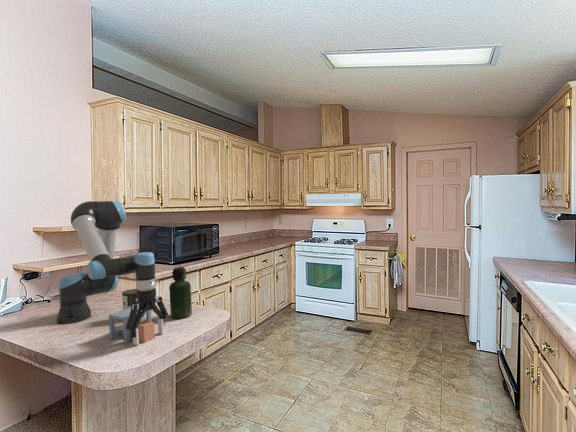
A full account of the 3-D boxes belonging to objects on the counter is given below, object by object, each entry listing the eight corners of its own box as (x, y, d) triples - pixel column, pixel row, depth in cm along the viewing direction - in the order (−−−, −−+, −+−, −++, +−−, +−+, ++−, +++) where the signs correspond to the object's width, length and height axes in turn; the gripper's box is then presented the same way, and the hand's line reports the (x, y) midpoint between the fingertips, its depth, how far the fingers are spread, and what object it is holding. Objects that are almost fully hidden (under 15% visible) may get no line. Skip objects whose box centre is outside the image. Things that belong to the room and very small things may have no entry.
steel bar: (113, 333, 148) (113, 327, 148) (121, 331, 151) (121, 324, 151) (138, 341, 139) (137, 334, 139) (145, 338, 142) (145, 331, 142)
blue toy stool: (110, 338, 142) (108, 314, 142) (136, 327, 153) (135, 306, 153) (126, 342, 137) (124, 318, 136) (152, 331, 148) (150, 308, 148)
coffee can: (149, 315, 172) (148, 288, 171) (136, 322, 162) (135, 294, 161) (132, 314, 174) (130, 288, 173) (118, 321, 164) (117, 293, 163)
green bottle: (169, 320, 162) (166, 270, 162) (172, 313, 173) (170, 267, 172) (191, 318, 165) (188, 269, 164) (192, 311, 175) (190, 265, 174)
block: (137, 340, 138) (136, 324, 138) (147, 336, 143) (146, 320, 142) (144, 343, 136) (144, 326, 136) (155, 338, 140) (154, 322, 140)
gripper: (126, 297, 126) (129, 351, 127) (174, 283, 148) (177, 329, 148) (114, 295, 130) (117, 348, 131) (163, 281, 151) (165, 327, 152)
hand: (149, 338), depth 140 cm, fingers open, 12 cm apart
